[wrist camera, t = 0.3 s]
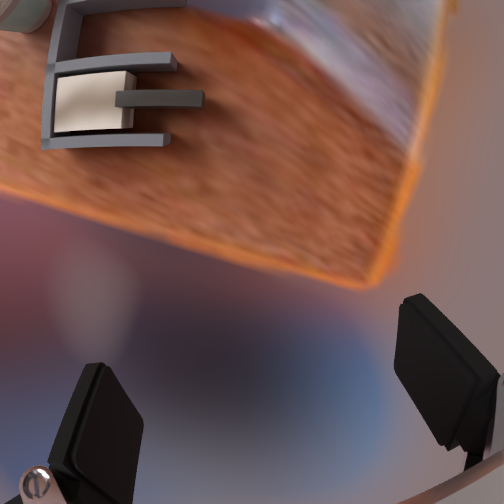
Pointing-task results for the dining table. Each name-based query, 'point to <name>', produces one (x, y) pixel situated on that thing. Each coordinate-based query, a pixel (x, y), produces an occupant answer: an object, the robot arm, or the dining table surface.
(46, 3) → the coffee cup
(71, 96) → the cream block
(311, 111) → the dining table surface
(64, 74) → the lane rack
